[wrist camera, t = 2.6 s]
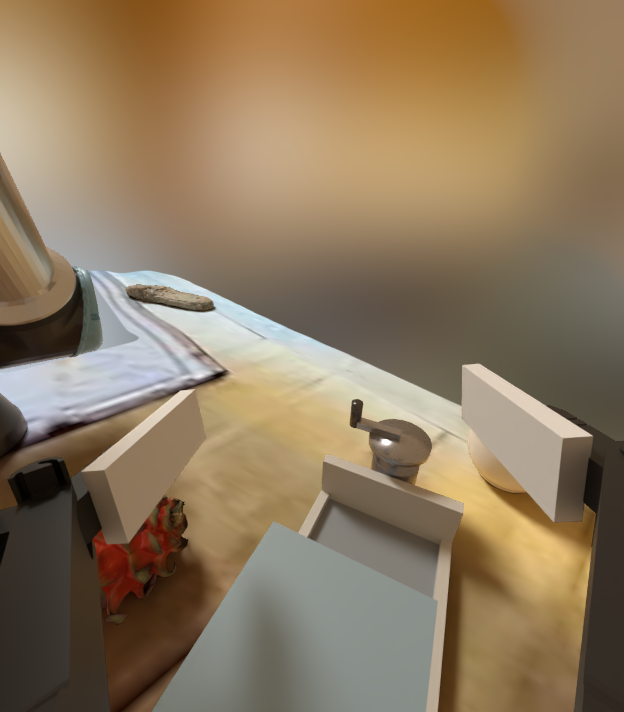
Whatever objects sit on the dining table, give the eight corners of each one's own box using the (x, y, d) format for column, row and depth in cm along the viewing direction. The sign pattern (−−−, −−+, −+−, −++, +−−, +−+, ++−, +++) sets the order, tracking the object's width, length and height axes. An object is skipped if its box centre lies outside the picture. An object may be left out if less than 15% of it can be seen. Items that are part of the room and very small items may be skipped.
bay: (353, 1572, 8) (382, 1892, 5) (42, 1022, 13) (-24, 1039, 11) (449, 542, 32) (463, 503, 30) (325, 490, 38) (327, 453, 35)
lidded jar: (443, 470, 41) (460, 412, 37) (477, 433, 47) (495, 380, 43) (537, 528, 34) (572, 466, 30) (562, 476, 40) (594, 418, 36)
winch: (411, 529, 34) (433, 446, 28) (335, 497, 37) (341, 417, 31) (420, 485, 39) (440, 407, 33) (353, 460, 42) (361, 386, 37)
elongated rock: (199, 320, 91) (222, 311, 99) (198, 302, 89) (221, 295, 97) (116, 296, 103) (142, 290, 111) (113, 280, 101) (140, 275, 109)
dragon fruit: (205, 536, 34) (86, 653, 27) (156, 475, 35) (29, 572, 28) (218, 532, 27) (65, 687, 20) (158, 457, 28) (-9, 578, 21)
